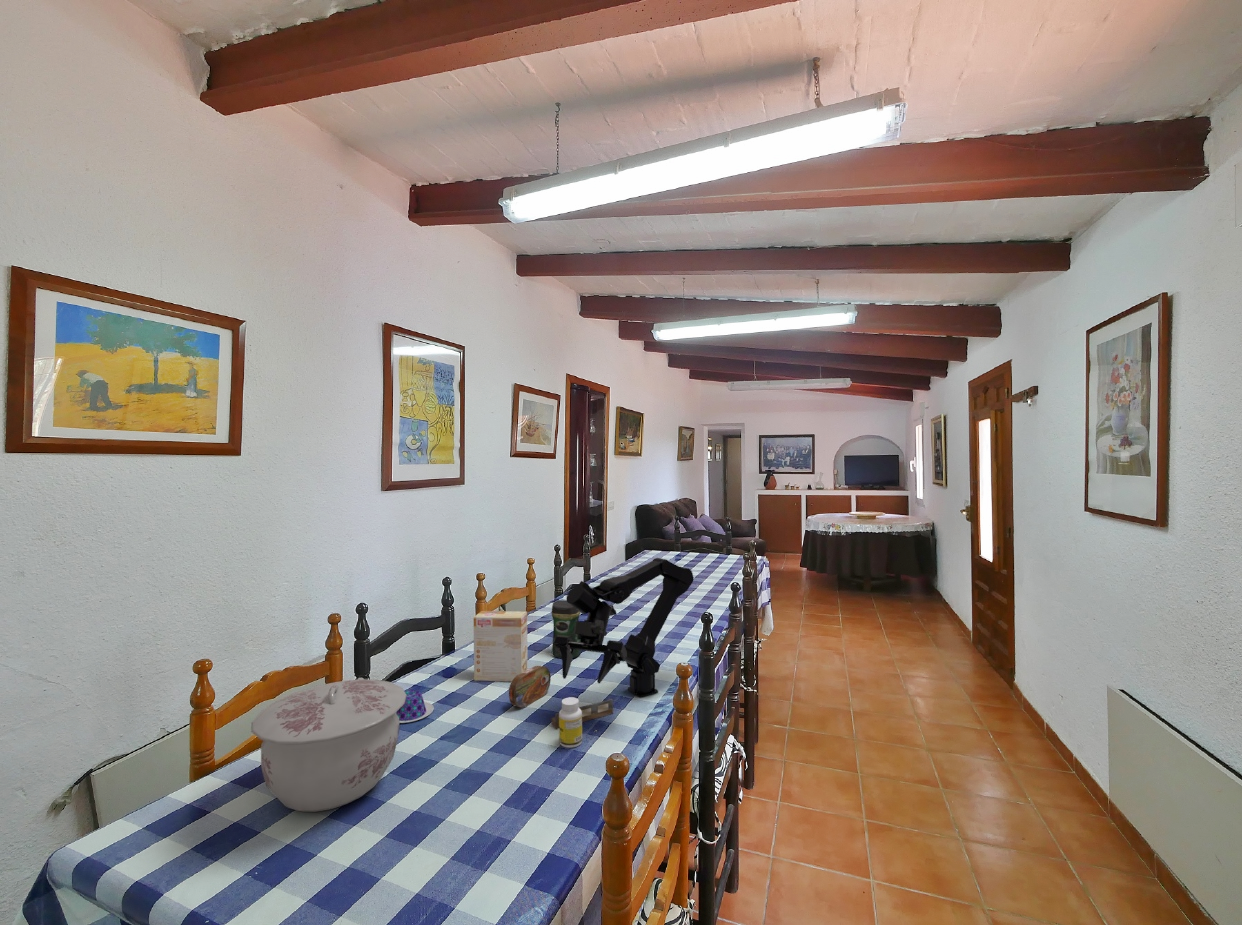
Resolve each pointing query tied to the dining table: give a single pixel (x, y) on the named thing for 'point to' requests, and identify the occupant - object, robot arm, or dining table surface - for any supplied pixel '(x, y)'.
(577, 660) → the dining table surface
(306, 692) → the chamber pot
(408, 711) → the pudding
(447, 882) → the dining table surface
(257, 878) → the dining table surface
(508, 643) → the coffeecake box
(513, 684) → the tin
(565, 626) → the coffee jar
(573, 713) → the supplement bottle
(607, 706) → the rail
